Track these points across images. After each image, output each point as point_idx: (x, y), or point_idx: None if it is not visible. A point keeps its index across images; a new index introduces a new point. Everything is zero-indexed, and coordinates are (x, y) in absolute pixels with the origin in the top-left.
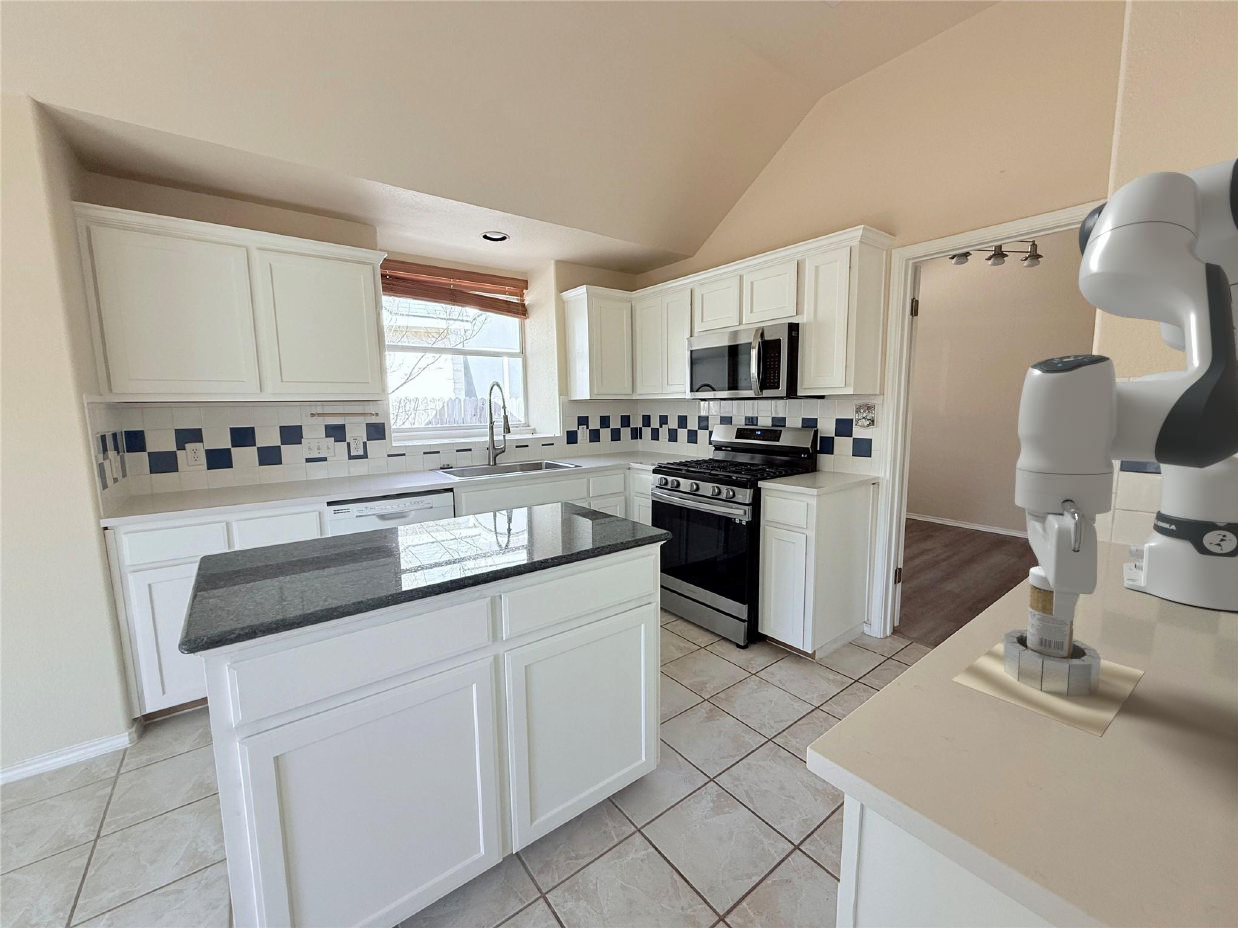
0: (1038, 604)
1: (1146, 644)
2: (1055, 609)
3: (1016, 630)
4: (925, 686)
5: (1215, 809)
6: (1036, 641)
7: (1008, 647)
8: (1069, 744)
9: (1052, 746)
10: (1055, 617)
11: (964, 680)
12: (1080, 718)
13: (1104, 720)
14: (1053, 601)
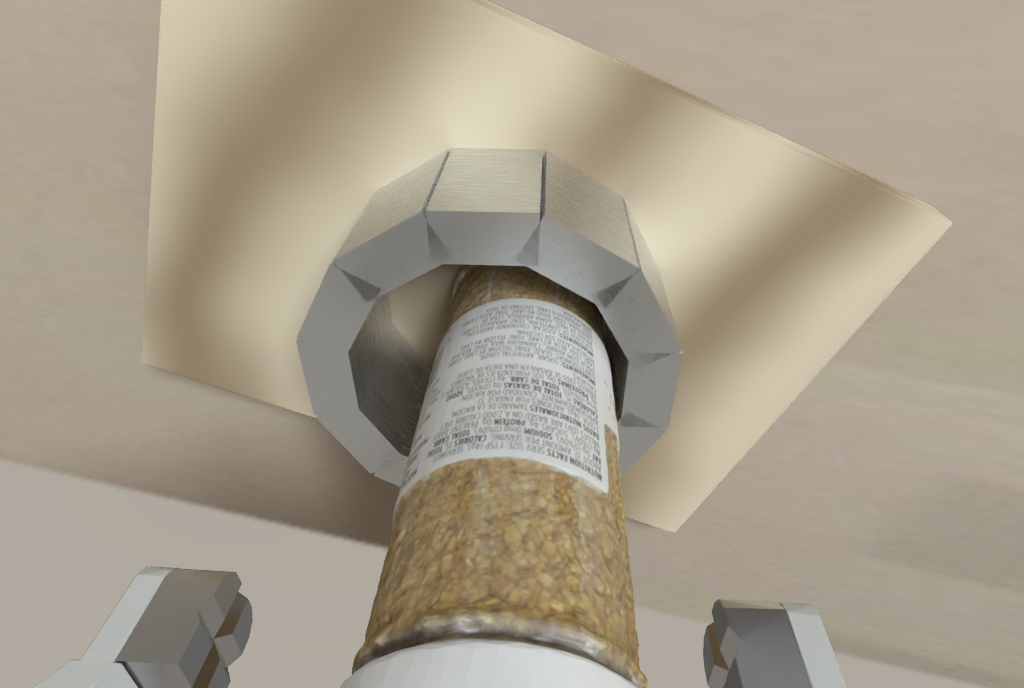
0: (410, 528)
1: (960, 569)
2: (114, 621)
3: (635, 279)
4: None
5: (80, 466)
6: (447, 351)
7: (409, 211)
8: (109, 275)
9: (52, 231)
10: (149, 568)
11: None
12: (218, 336)
13: (256, 388)
14: (102, 668)
